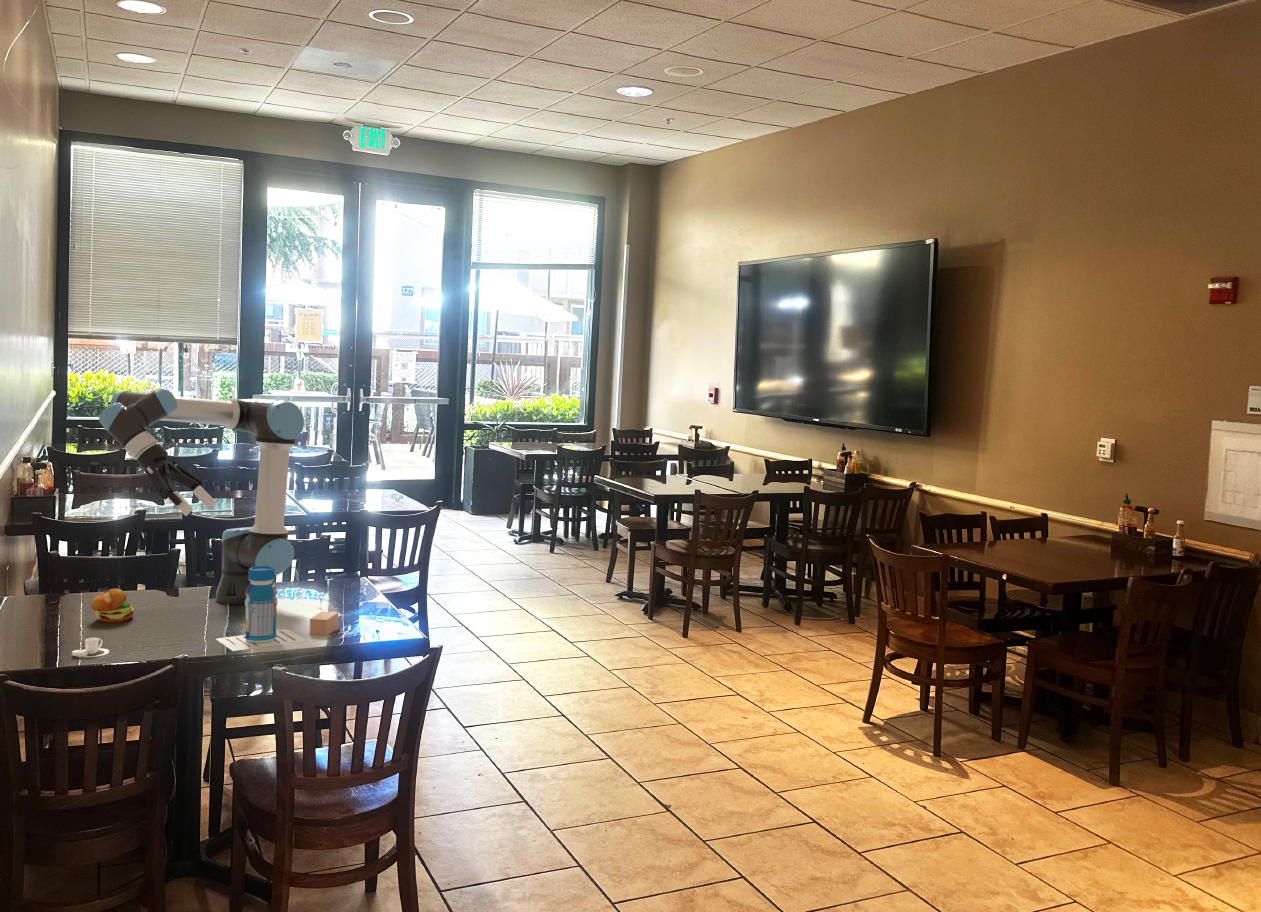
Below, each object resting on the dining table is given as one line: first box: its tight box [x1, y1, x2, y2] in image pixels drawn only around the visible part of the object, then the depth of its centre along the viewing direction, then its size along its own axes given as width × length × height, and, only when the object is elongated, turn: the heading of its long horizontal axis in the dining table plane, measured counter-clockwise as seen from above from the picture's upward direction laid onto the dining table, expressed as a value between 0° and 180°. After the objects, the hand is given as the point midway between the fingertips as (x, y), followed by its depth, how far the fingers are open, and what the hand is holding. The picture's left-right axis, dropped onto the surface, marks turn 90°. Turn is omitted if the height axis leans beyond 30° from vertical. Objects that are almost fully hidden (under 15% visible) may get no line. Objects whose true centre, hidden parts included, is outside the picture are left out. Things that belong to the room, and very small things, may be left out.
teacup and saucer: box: [71, 637, 110, 658], centre depth 262 cm, size 9×8×4 cm
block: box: [309, 610, 339, 636], centre depth 291 cm, size 5×5×9 cm
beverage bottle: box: [244, 566, 278, 643], centre depth 279 cm, size 8×8×20 cm
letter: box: [215, 628, 307, 652], centre depth 280 cm, size 14×20×1 cm
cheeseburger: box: [91, 588, 135, 623], centre depth 295 cm, size 10×11×10 cm
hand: (201, 509), depth 278 cm, fingers open, 13 cm apart
